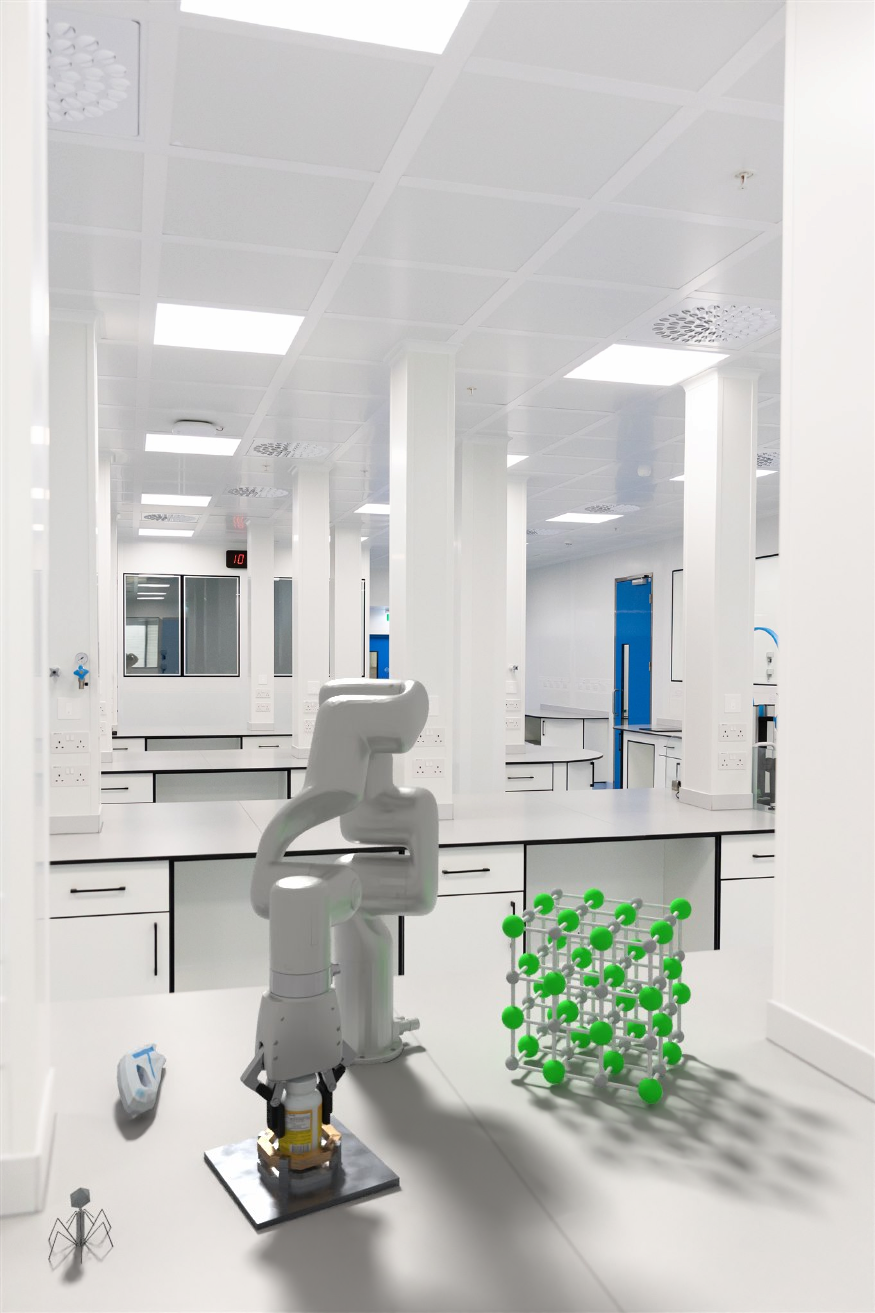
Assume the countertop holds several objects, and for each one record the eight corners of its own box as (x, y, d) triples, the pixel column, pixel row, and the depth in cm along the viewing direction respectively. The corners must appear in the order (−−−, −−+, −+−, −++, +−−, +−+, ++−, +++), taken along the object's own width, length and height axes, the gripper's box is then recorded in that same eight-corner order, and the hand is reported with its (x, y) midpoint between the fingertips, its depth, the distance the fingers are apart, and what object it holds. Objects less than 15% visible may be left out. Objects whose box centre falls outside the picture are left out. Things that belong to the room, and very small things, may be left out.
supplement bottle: (298, 1170, 116) (298, 1090, 116) (268, 1155, 119) (268, 1077, 119) (331, 1152, 120) (331, 1075, 120) (301, 1138, 124) (301, 1062, 123)
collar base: (333, 1123, 132) (333, 1092, 132) (399, 1185, 117) (399, 1151, 117) (204, 1159, 123) (204, 1126, 123) (257, 1233, 107) (257, 1195, 107)
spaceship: (118, 1080, 129) (96, 1108, 129) (158, 1109, 130) (136, 1137, 130) (137, 1024, 152) (118, 1048, 152) (171, 1049, 153) (152, 1073, 152)
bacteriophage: (45, 1280, 100) (44, 1214, 100) (45, 1236, 107) (45, 1175, 107) (117, 1264, 102) (116, 1200, 102) (112, 1222, 110) (112, 1162, 110)
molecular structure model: (692, 1044, 159) (693, 896, 159) (659, 1110, 136) (660, 938, 136) (550, 1019, 169) (551, 880, 169) (497, 1077, 147) (498, 916, 146)
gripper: (349, 959, 127) (348, 1098, 127) (222, 983, 118) (222, 1132, 118) (376, 976, 121) (376, 1122, 121) (244, 1003, 112) (244, 1160, 112)
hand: (299, 1125), depth 120 cm, fingers closed on supplement bottle, 5 cm apart
